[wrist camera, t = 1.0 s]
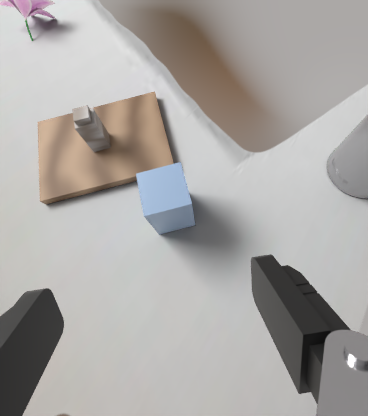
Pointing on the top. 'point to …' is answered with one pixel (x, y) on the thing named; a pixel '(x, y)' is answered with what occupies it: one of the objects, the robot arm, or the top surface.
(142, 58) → the top surface
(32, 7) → the lily
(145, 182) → the light blue block
